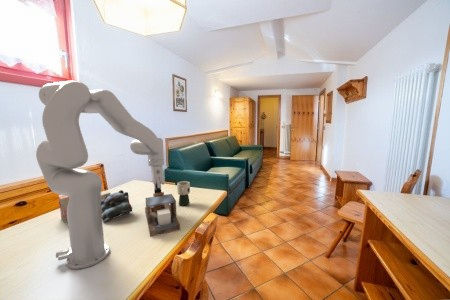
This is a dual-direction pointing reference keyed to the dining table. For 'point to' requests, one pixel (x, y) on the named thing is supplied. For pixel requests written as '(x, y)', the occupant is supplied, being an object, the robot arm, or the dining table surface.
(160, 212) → the block
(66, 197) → the stack of blocks
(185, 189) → the character mug
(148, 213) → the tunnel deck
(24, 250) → the dining table surface
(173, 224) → the sled
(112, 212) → the lucky cat figurine
